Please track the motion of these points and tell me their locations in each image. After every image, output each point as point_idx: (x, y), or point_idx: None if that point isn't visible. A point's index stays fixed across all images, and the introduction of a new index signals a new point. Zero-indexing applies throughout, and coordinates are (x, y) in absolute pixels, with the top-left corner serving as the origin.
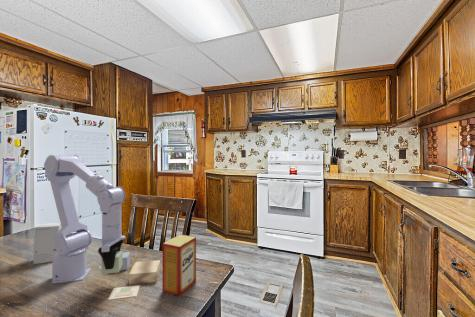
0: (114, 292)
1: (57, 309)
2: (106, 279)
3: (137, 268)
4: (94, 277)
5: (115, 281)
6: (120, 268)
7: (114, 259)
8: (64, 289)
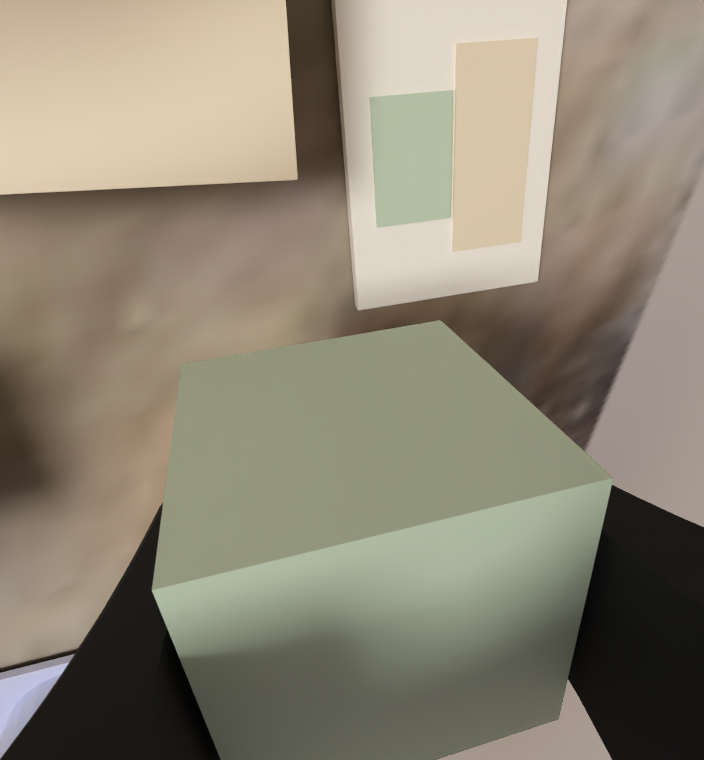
0: (437, 270)
1: None
2: (152, 460)
3: (79, 70)
4: (117, 573)
5: (194, 355)
6: (330, 342)
7: (633, 511)
8: None
